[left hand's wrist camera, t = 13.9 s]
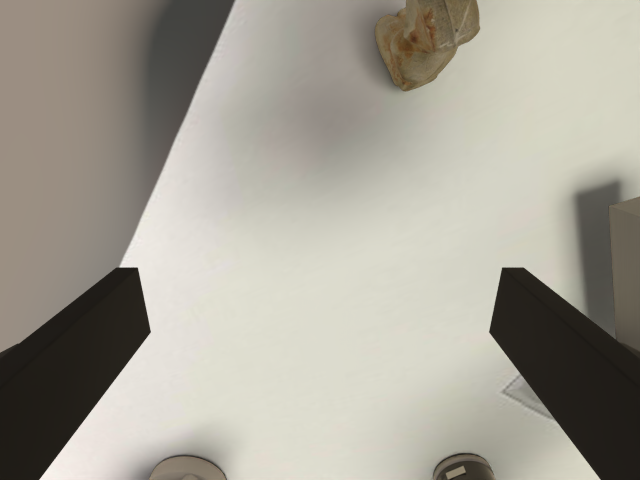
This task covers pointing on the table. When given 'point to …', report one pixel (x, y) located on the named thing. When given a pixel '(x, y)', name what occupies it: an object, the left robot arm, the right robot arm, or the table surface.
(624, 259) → the box
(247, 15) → the table surface
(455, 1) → the sculpture
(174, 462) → the bust sculpture
